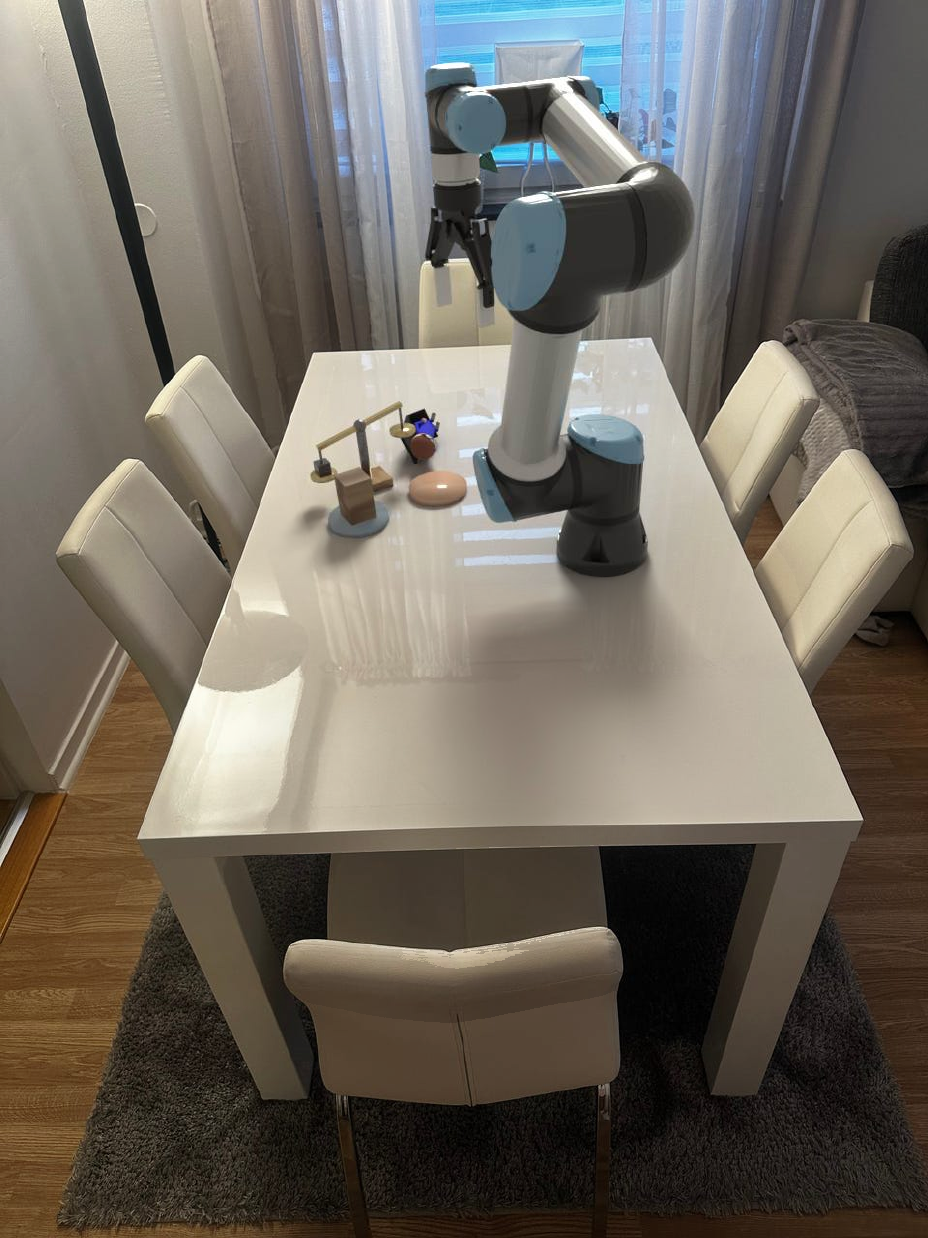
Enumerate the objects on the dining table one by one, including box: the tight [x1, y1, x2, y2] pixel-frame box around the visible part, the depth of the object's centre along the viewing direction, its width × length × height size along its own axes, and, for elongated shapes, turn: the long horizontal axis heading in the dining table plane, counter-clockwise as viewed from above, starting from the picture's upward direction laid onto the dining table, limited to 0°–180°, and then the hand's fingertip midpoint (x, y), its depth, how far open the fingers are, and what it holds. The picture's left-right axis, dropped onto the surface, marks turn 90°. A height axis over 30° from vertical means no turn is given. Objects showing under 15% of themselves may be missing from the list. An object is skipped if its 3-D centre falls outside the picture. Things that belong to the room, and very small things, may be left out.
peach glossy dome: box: [408, 470, 468, 507], centre depth 169 cm, size 11×11×1 cm
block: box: [334, 466, 377, 526], centre depth 159 cm, size 5×5×8 cm
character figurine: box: [400, 408, 441, 466], centre depth 180 cm, size 8×7×15 cm
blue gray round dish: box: [327, 500, 390, 539], centre depth 162 cm, size 11×11×1 cm
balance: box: [309, 401, 416, 493], centre depth 168 cm, size 6×22×15 cm, turn 120°
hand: (465, 315), depth 152 cm, fingers open, 13 cm apart
